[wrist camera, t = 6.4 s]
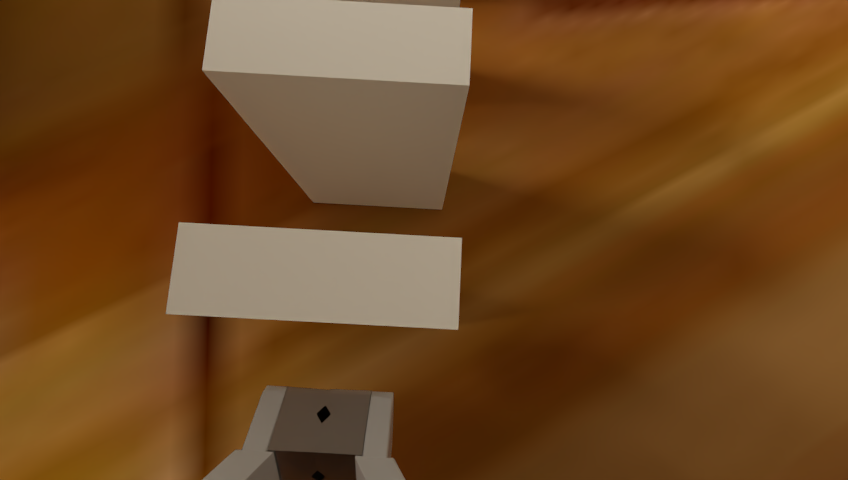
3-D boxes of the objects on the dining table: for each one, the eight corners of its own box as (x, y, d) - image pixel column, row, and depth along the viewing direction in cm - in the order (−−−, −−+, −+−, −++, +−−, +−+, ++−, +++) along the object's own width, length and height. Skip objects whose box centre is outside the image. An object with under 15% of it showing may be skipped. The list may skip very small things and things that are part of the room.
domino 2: (435, 327, 18) (457, 329, 8) (301, 320, 18) (165, 314, 8) (437, 284, 18) (461, 237, 9) (305, 277, 18) (178, 221, 9)
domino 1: (442, 209, 19) (469, 85, 9) (313, 202, 19) (201, 70, 9) (444, 169, 19) (472, 8, 9) (317, 163, 19) (213, -7, 9)
